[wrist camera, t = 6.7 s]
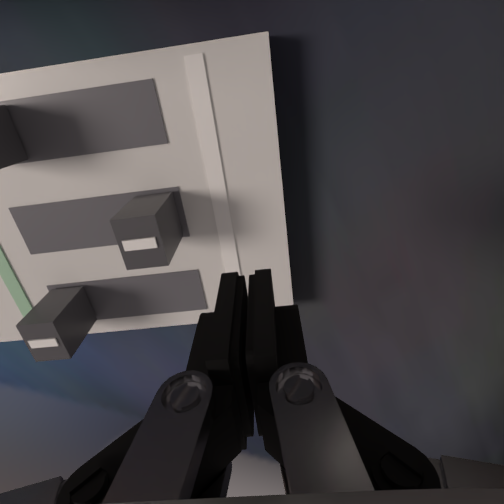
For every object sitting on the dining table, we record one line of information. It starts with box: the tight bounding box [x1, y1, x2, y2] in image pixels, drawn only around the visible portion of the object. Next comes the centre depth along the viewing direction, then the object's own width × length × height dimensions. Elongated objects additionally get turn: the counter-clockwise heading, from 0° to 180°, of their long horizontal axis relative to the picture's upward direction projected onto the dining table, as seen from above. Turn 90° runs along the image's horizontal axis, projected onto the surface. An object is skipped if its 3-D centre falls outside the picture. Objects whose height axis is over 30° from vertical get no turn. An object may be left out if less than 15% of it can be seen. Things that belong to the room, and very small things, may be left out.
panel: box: [0, 31, 293, 342], centre depth 23 cm, size 24×18×2 cm
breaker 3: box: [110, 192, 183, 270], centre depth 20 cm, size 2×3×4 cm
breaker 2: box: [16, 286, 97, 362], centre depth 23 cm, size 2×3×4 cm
